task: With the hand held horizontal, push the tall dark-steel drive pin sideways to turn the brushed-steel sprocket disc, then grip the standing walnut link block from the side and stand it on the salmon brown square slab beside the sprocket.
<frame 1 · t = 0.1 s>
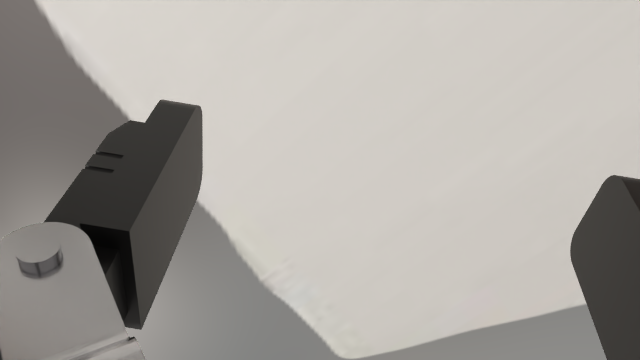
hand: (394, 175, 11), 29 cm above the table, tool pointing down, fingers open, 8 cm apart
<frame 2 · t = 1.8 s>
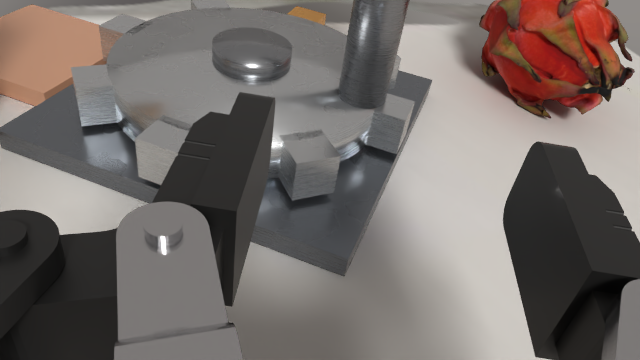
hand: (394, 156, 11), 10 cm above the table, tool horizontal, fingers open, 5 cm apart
sprocket base: (248, 116, 30), on the table
dragon fruit: (532, 96, 37), on the table
salmon brown square slab: (40, 59, 32), on the table
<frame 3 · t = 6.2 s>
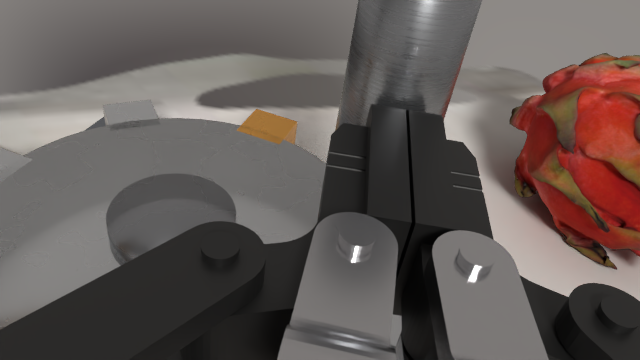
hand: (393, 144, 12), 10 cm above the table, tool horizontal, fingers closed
sprocket: (165, 72, 14), point 9 cm above the table, hinge at 0.3°, touching gripper
dragon fruit: (583, 221, 27), on the table
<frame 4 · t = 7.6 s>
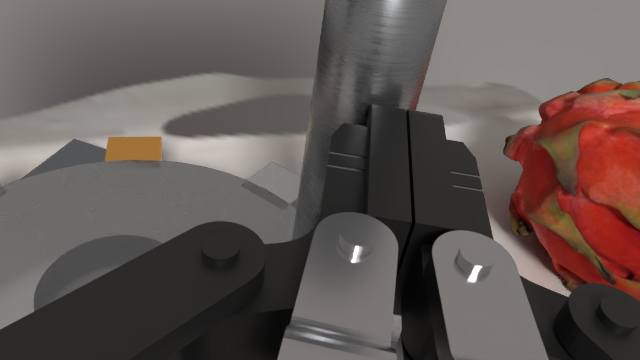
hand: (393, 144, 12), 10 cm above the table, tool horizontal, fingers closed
sprocket: (90, 137, 12), point 9 cm above the table, hinge at 30.7°, touching gripper
dragon fruit: (584, 260, 25), on the table
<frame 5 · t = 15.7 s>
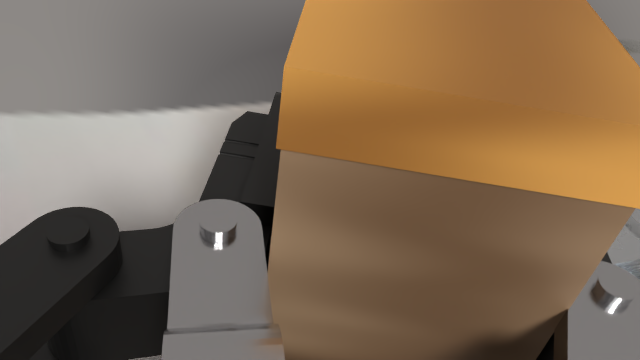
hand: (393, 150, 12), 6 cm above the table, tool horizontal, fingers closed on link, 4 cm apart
when the fingers open (8 cm above the table, at t = 20.0 s): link drops 1 cm, resting on salmon brown square slab.
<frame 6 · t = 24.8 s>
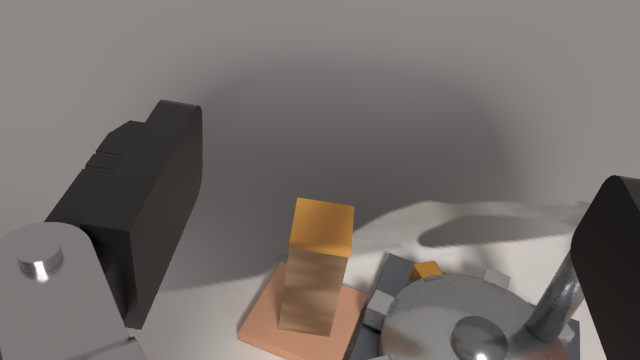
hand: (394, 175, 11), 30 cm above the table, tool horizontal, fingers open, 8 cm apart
sprocket: (504, 294, 37), point 9 cm above the table, hinge at 39.6°
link: (306, 312, 44), point 1 cm above the table, touching salmon brown square slab
salmon brown square slab: (305, 319, 44), on the table
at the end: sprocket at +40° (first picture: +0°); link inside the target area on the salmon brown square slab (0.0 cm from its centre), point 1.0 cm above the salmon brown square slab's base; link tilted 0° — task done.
